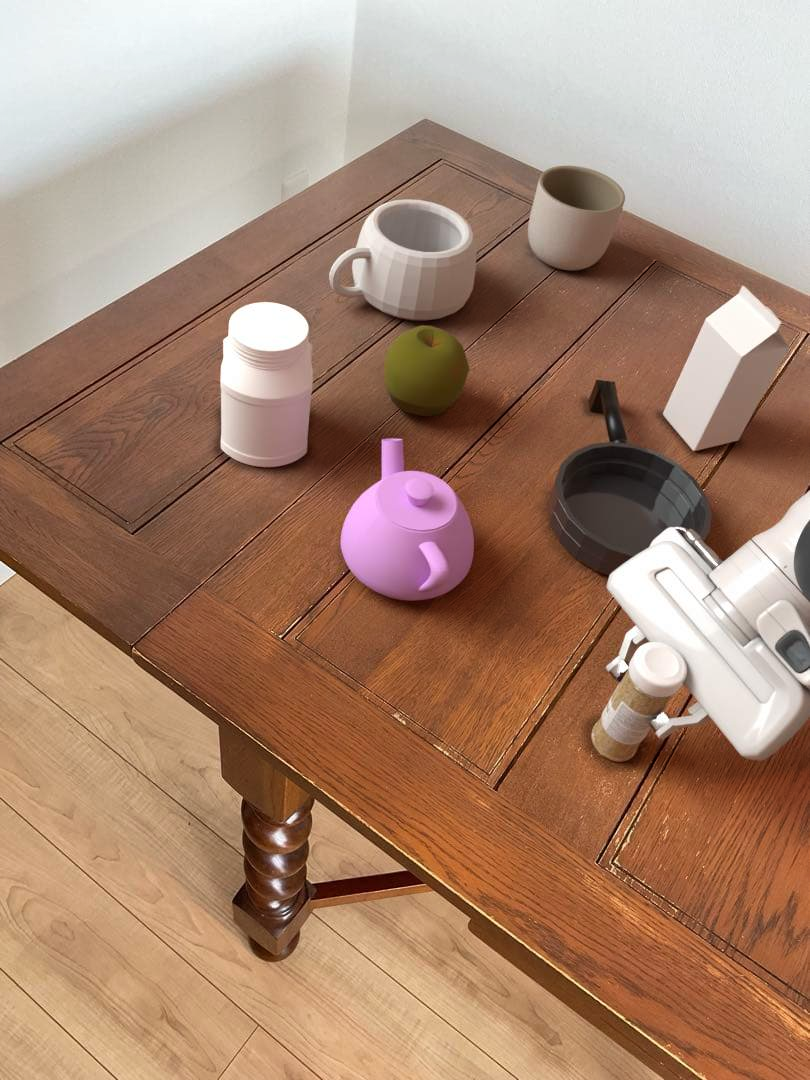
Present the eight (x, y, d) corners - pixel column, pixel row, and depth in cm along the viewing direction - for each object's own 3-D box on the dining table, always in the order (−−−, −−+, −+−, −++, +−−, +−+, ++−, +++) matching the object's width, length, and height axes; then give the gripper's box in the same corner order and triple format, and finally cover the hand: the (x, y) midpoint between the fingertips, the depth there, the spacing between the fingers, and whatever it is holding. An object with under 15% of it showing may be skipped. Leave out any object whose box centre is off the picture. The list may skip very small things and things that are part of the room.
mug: (429, 246, 141) (440, 183, 134) (493, 312, 133) (509, 249, 125) (297, 275, 132) (302, 209, 124) (357, 348, 124) (366, 281, 116)
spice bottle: (603, 712, 93) (649, 630, 83) (645, 739, 91) (697, 659, 81) (581, 745, 90) (626, 664, 80) (624, 773, 89) (675, 695, 79)
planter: (606, 244, 149) (628, 178, 140) (598, 288, 140) (621, 220, 132) (527, 224, 149) (545, 157, 141) (515, 266, 141) (533, 198, 133)
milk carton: (693, 452, 119) (756, 327, 105) (661, 415, 123) (718, 289, 109) (738, 441, 122) (805, 318, 108) (705, 405, 126) (766, 281, 112)
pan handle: (606, 403, 123) (617, 375, 120) (620, 473, 115) (633, 445, 112) (588, 401, 123) (598, 373, 120) (601, 471, 115) (612, 443, 111)
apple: (386, 432, 114) (399, 358, 106) (371, 378, 120) (382, 304, 112) (467, 428, 116) (486, 356, 108) (449, 376, 122) (465, 304, 114)
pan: (680, 477, 116) (694, 450, 113) (710, 591, 105) (726, 565, 101) (539, 462, 114) (548, 434, 111) (554, 577, 103) (565, 550, 100)
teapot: (437, 477, 110) (454, 407, 102) (492, 619, 98) (516, 551, 90) (319, 489, 106) (327, 417, 98) (360, 637, 94) (373, 568, 86)
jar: (224, 396, 114) (224, 289, 103) (306, 401, 116) (315, 296, 104) (219, 465, 107) (218, 358, 95) (306, 470, 108) (316, 364, 97)
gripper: (671, 505, 84) (553, 608, 88) (839, 690, 74) (696, 798, 77) (691, 525, 90) (578, 621, 93) (850, 700, 79) (716, 801, 82)
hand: (633, 703), depth 85 cm, fingers open, 5 cm apart
